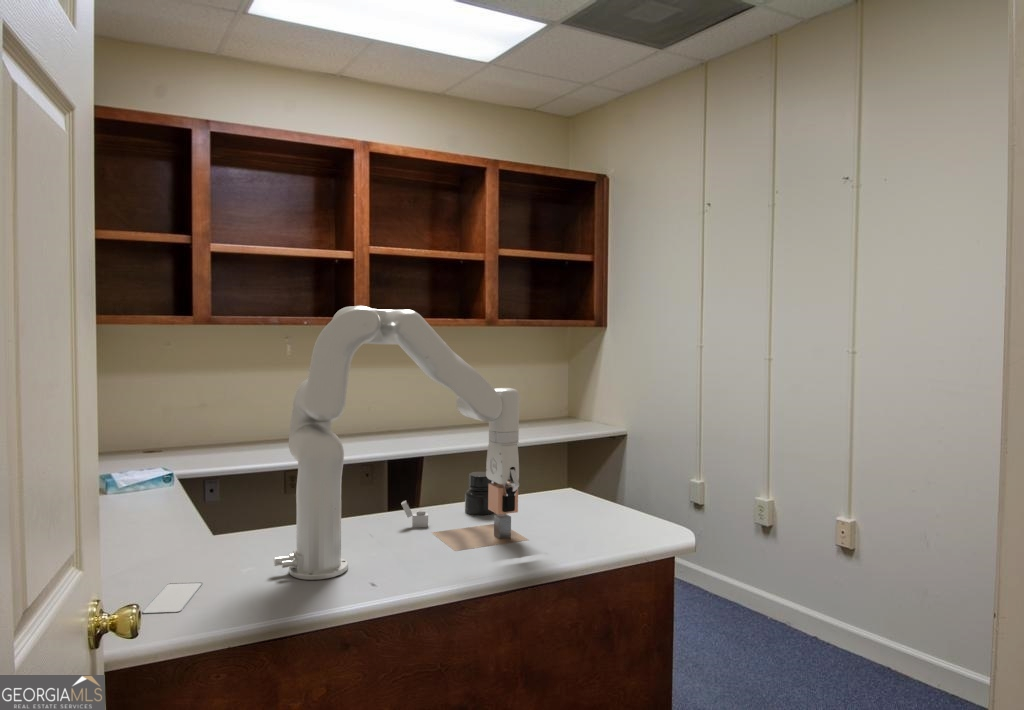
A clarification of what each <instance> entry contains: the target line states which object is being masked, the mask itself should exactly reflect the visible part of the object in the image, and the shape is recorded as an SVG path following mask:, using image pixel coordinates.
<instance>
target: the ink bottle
mask: <svg viewBox="0 0 1024 710" xmlns="http://www.w3.org/2000/svg"><path fill="white" fill-rule="evenodd" d="M489 483H491V482H490V480H489V479H488V478H487V477H486V471H473V472H470V473H468V487H469V488H468V490H466V491H465V493H464V513H465V514H467V515H469V516H476V517H482V516H483V517H484V516H491V515H495V513H494V512H492V511H490V510H489V509H488V485H489Z"/></svg>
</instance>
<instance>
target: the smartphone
mask: <svg viewBox="0 0 1024 710" xmlns="http://www.w3.org/2000/svg"><path fill="white" fill-rule="evenodd" d="M203 584H204V583H203V582H178V583H177V582H175V583H174V582H173V583H168V584H166V586H165V587H163V588H162V590H161V591H160V592H159V593H158V594H157V595H156V596H155V598H153V599H152V601H150V603H149V604H148V605H147V606H146V607H145V608H144V609H143V610H142V611H141V614H142V615H152V614H153V615H155V614H157V615H159V614H179V613H181V612H182V611H183V609H185V607H186V605H187V604H188V603H189V602H190V601H191V600H192V598H193V597H194V596H195V594H196V593H197V592H198V591H199V589H200V588H201V587H202V585H203Z"/></svg>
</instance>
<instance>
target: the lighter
mask: <svg viewBox="0 0 1024 710" xmlns="http://www.w3.org/2000/svg"><path fill="white" fill-rule="evenodd" d="M400 504H401V507H402V508H403V511H404V514H405V515H406V517H407V518H411V517H412V520H411V521H412V522H411V523H412V524H411V525H412V527H411V528H429V513H427V512H426V511H425V510H416V513H413V511H412V510H411V508H410V506H409V503H408V502H407V500H403V501H402V502H401V503H400Z"/></svg>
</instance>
